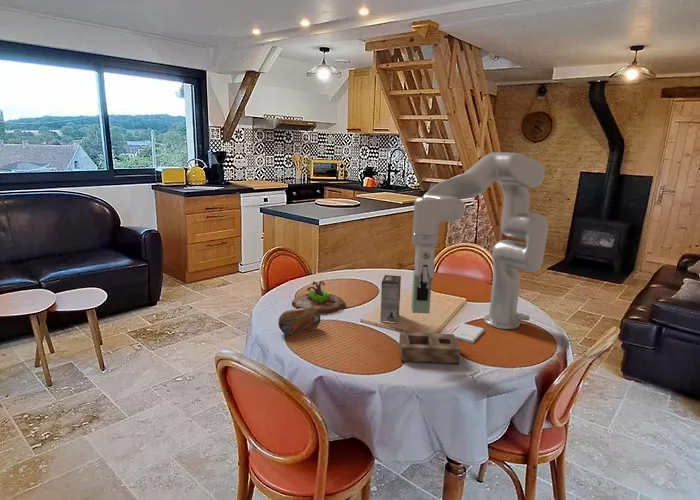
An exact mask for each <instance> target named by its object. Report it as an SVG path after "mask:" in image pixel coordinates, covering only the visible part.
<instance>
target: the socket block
mask: <svg viewBox="0 0 700 500" xmlns="http://www.w3.org/2000/svg"><path fill="white" fill-rule="evenodd" d="M398 342H399V343H398V344H399V345H398V346H399V355H400V363H410V364H413V363H414V364H434V365H456V366H457V365H458V366H459V365H460V358H461V356H460V355H461V348H460V345H459V342H458V340H457V339H456V338H455V336H454V334H452V333H430V332H407V331H405V332H403V331H400V332H399V341H398Z"/></svg>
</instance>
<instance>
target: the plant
mask: <svg viewBox="0 0 700 500" xmlns="http://www.w3.org/2000/svg"><path fill="white" fill-rule="evenodd" d="M311 283H312V284H311V285H313V286H310V287H307V288H306V292H308V293H304V294H302V295H300V296H297V297H295V298H294V299H293V300H292V301H291V307H294V308H295V309H300V308H306V307H311V308H314V309H316V310H317V311H318V312H319V314H320V315H327V314H332V313H336V312H339V311H340V310H341V309H344V308H346V305H347V304H346V302H345V301H344V300H343V299H342V298H341V297H339V296H336V295H335V294H332V291H329V292H327V290H326V289H324V288H323V287H325V286H326V282H325V281H323V280H320V281H319V283H317V281H315V280H314V281H313V282H311ZM321 285H322V286H323V287H321ZM314 286H315V287H314ZM311 289H313V290H311Z"/></svg>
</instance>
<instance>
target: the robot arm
mask: <svg viewBox="0 0 700 500" xmlns="http://www.w3.org/2000/svg"><path fill="white" fill-rule="evenodd" d="M545 172H546V171H545V168H544V166H543V165H542V163H540V162H539V161H537V160H534V159H532V158H530V157H528V156H526V155H523V154H521V153H518V152H502V151H501V152H499V151H498V152H497V151H495V152H494V151H493V152H489V153H487V154H486V155H484V156H482V157H481V158H480V159H479V160H478V161H477V162H476V163H475V164H473V166H471V167H470V168H468V169H467V171H465V172H463V173H461V174H458V175H456V176H453V177H451V178H448V179H446V180H443V181H441V182H438V183H437V184H435V185H433V186H432V187H431V188H430V189H429V190H427V192H425V193H424V194H423V196H419V197H417V198H416V199H415V200H414V204H413V206H414V207H413V220H412V221H413V222H412V238H411V244H412V245H414V246H415V248H414V249H415V250H414V270H415V272H416V275H417V277H418V278H419V285H418V287H417V300H418V301H427V300H428V275H429V277H430V278H431V279H432V280H433V279H434V275H435V247H437V246H438V241H439V230H440V229H439V228H440V227H439V226H440V222H450V223H451V222H456V221H458V220H460V219H461V218H462V217H463V216H464V214H465V211H466V210H465V204H464V202H463V201H462V199H467V198H472V197H477V196H480V195H482V194H483V193H485V192H486V190H488V188H489V187H491V186H492V185H493V184H495V182H497V184H499V186H500V188H501V190H502V192H503V197H504V198H503V207H502V213H501V215H502V216H501V221H500V231H501V233H502V234H503V235H504V236H506V237H510V238H514V239H520V240H524V241H526V243H524V242H520V241H515V240H510V239H501V240H499V241H497V242H496V243H495V244H494V245H493V248H492V251H491V252H492V253H491V254H492V255H491V256H492V257H491V258H492V265H493V266H492V268H493V269H492V271H493V272H492V273H493V274H492V283H491V293H490V301H489V313H488V314H486V315H485V316H484V319H483V320H484V322H485V323H486V324H487V326H490V327H493V328H496V329H502V330H513V329H517V328H519V327H520V324H521V322H520V321H530V315H528V314H527V315H526V314H524V313H522V312H521V313H518V311H517V310H518V302H519V293H520V284H521V277H520V273H519V271H523V272H527V273H536V272H537V271H539V270H540V268H541V267H542V265H543V262H544V261H543V260H544V256H545V251H546V245H547V238H548V232H549V223H548V220H547V218H546V217H545V216H544V215H543V214H539V213H536V212H535V213H532V212H530V211H529V210H530V201H531V200H530V198H531V197H530V193H529V191H528V189H534V188H537V187H540V186H541V184H542V183H543V181H544V179H545V175H546V173H545ZM527 188H528V189H527ZM420 274H421V275H420ZM420 276H423V278H421V277H420ZM421 280H422V281H421Z"/></svg>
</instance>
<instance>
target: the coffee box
mask: <svg viewBox="0 0 700 500" xmlns="http://www.w3.org/2000/svg"><path fill="white" fill-rule="evenodd" d="M401 281H402V276H401V275H390V274H389V275H388V274H384V276H383V279H382V280H381V293H380V295H381V296H380V299H381V300H380V321H389V322H397V323H398V321H399V317H400V308H401V307H400V303H401ZM398 316H399V317H398ZM397 320H398V321H397ZM380 321H379V322H380Z"/></svg>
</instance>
